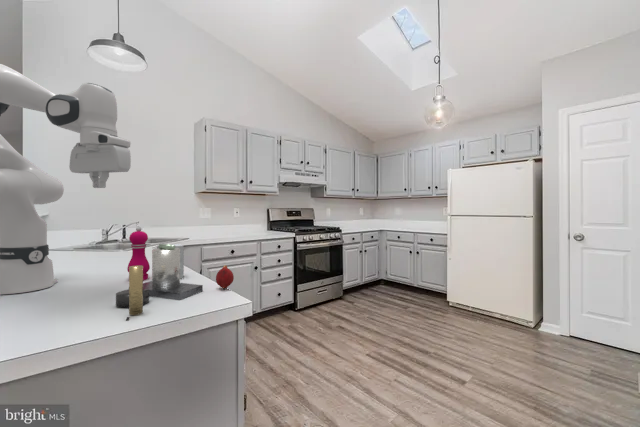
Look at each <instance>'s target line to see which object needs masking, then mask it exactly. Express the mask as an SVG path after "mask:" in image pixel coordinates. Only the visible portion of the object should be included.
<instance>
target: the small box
mask: <svg viewBox="0 0 640 427" xmlns="http://www.w3.org/2000/svg"><path fill="white" fill-rule="evenodd" d="M170 245H175V248H180V280H182V278H183V279H184V277H185V275H184V274H185V273H184V270H185V267H184V265H185V263H184V260H185V258H184V256H185V255H184V250H185V248H184V244H180V243H175V244H174V243H172V244H170ZM158 246H159V244H158V245H156V249H158Z"/></svg>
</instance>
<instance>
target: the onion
mask: <svg viewBox="0 0 640 427" xmlns="http://www.w3.org/2000/svg"><path fill="white" fill-rule="evenodd" d="M234 277H235V276H234V273H233V271H232V270H231V269H230V268H228V265H226V264H225V265H223V267H222V268H221V269H220V270H219V271H217V273H216V276H215V282H216V283H217V285H218V286H219V287H221V288H222V289H225V288H226V289H227V288H228V287H229V286H230V285H231V284H232V283H233V282H234V279H235V278H234ZM223 287H224V288H223Z"/></svg>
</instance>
